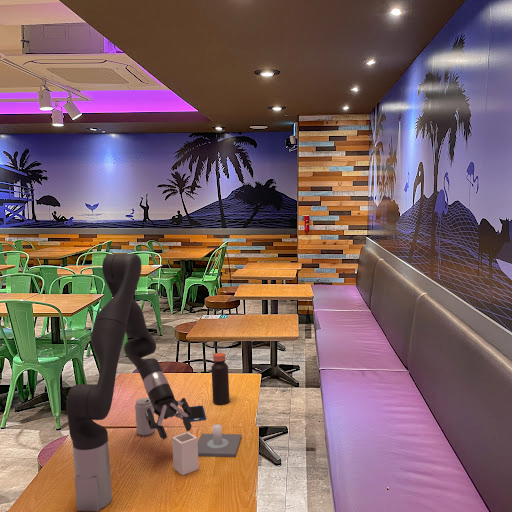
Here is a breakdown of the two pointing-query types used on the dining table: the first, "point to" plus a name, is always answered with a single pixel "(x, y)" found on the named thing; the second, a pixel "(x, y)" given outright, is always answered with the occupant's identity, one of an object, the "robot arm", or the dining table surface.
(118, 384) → the dining table surface
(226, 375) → the bottle
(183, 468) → the sleeve
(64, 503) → the dining table surface
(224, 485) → the dining table surface
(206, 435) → the post plate
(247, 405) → the dining table surface
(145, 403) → the beverage can
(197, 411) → the cell phone
